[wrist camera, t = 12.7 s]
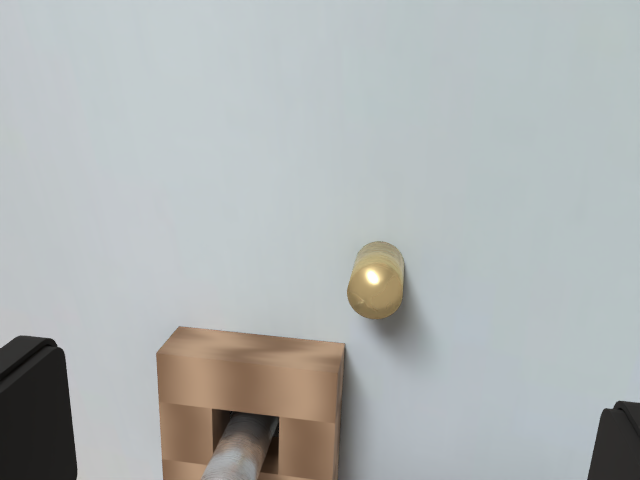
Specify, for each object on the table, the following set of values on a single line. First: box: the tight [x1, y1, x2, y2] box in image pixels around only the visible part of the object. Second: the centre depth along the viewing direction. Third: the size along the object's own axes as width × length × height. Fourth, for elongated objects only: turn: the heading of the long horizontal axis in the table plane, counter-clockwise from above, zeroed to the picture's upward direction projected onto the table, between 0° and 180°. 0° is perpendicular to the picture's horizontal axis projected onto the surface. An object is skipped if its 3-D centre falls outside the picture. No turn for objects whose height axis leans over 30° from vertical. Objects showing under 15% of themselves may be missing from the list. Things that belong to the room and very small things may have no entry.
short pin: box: [347, 241, 404, 319], centre depth 37 cm, size 3×3×5 cm
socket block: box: [156, 326, 345, 480], centre depth 42 cm, size 12×12×4 cm
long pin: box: [200, 411, 279, 480], centre depth 38 cm, size 3×3×12 cm
